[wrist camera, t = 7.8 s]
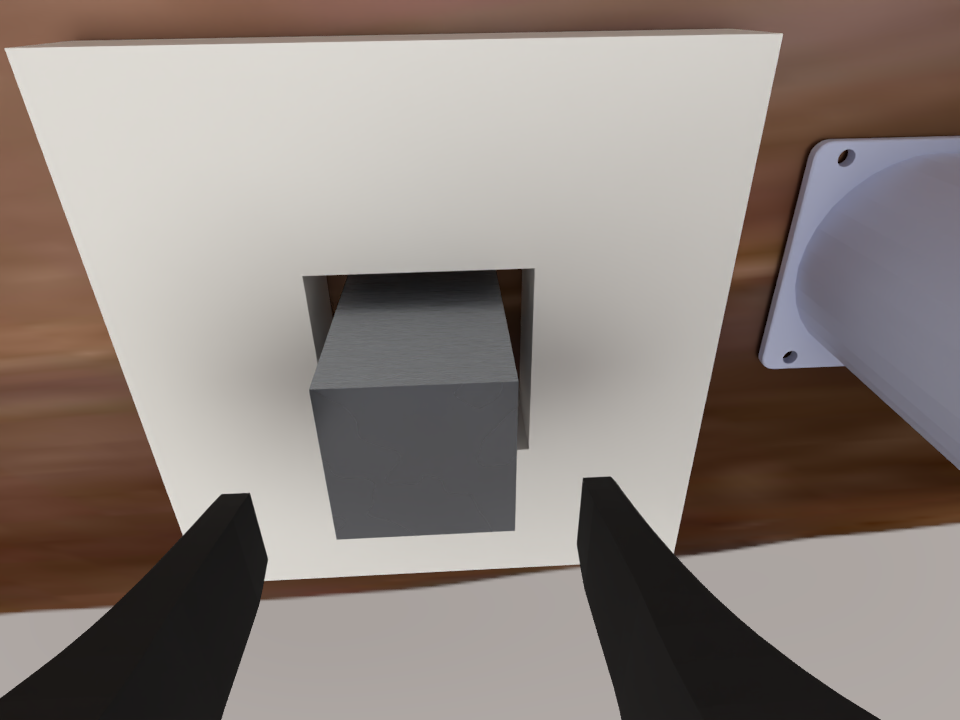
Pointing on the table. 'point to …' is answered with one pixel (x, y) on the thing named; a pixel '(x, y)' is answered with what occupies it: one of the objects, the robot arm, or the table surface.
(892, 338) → the robot arm
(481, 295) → the square peg
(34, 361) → the table surface
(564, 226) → the hole board
